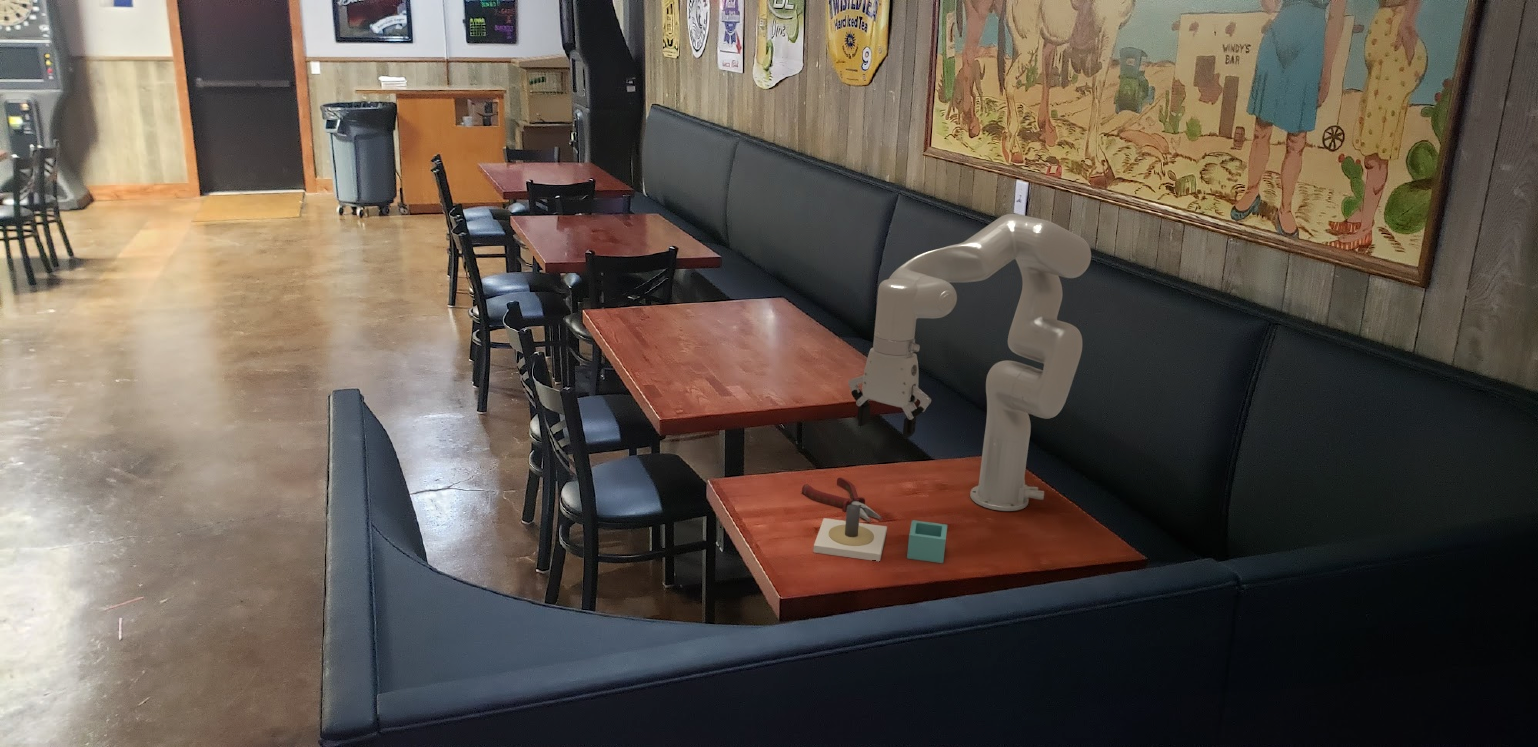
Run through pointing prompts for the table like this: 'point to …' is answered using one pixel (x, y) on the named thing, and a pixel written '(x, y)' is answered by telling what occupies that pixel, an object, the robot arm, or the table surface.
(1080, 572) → the table surface
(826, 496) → the pliers
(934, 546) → the collar
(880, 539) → the post stand
